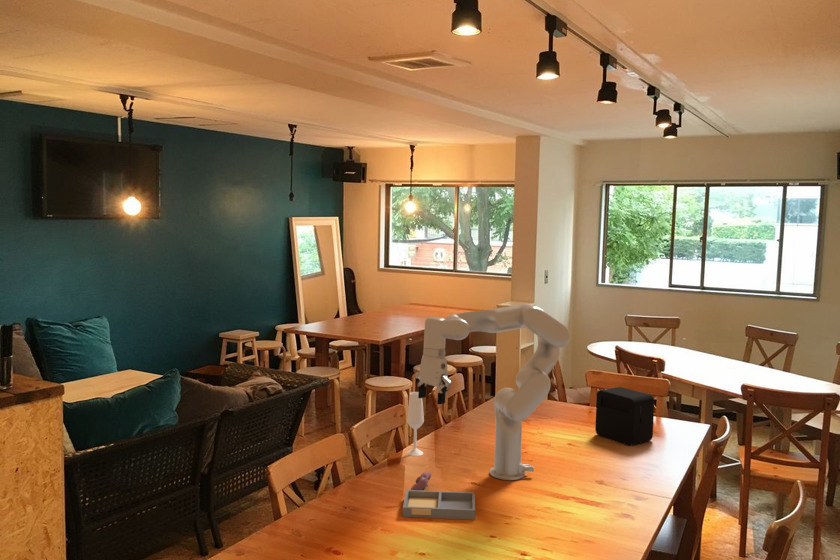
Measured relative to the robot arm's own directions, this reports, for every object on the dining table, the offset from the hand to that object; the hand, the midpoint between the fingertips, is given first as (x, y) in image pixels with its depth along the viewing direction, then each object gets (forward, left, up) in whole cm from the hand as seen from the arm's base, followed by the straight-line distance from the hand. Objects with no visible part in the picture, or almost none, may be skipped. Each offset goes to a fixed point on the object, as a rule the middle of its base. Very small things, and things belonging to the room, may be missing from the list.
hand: (431, 400), depth 248 cm
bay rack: (-4, +25, -29) cm, 38 cm away
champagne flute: (+7, -28, -29) cm, 41 cm away
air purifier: (-81, -57, -29) cm, 103 cm away
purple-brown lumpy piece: (+3, +9, -29) cm, 30 cm away
